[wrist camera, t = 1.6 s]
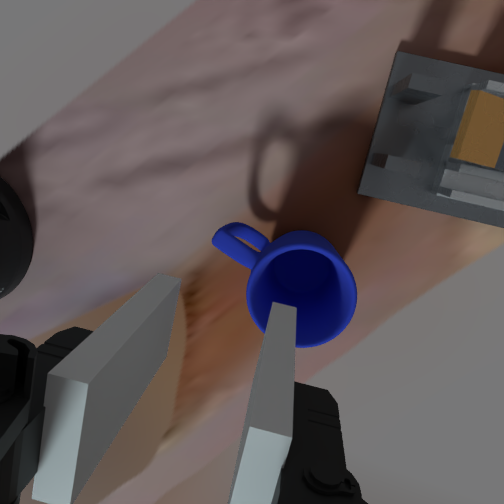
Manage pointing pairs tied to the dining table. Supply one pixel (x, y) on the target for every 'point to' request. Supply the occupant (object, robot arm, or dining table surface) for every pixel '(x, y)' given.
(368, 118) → the dining table surface
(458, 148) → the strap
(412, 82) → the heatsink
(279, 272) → the mug
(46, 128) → the dining table surface
